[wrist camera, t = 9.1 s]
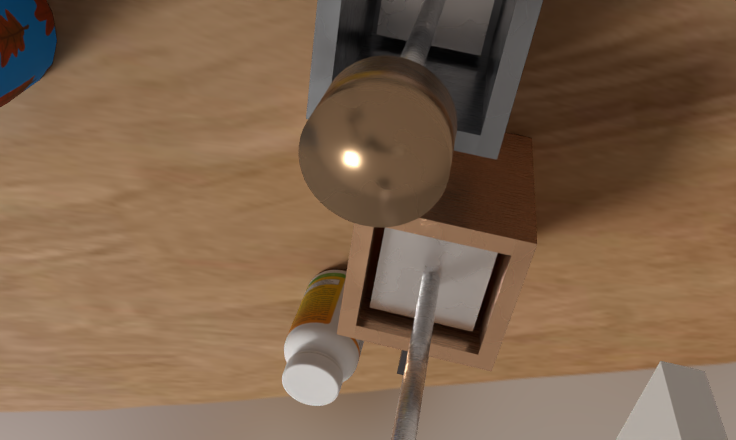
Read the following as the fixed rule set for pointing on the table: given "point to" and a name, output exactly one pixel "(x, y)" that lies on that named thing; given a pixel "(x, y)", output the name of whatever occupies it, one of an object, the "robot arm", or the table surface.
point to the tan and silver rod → (391, 118)
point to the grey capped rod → (427, 302)
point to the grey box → (435, 63)
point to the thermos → (24, 45)
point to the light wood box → (466, 227)
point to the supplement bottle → (319, 344)
